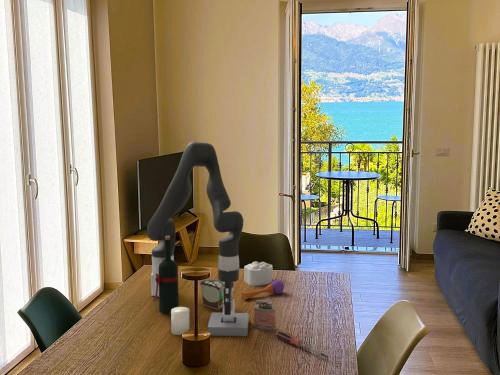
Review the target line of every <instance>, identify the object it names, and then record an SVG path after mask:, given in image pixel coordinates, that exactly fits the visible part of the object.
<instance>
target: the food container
mask: <svg viewBox="0 0 500 375" xmlns="http://www.w3.org/2000/svg"><path fill="white" fill-rule="evenodd" d="M223 284H225V282H222V281H219V279H214V278H211V279H210V278H207V279H202V280H201V279H200V282H199V285H200V288H201V290H200V291H201V304H203V305H202V306H205V307H207V308H209V309H210V308H211V309H214V310H216V311H220V310H221V309H222V310H223V300H224V298H223Z"/></svg>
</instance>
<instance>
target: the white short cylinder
mask: <svg viewBox="0 0 500 375" xmlns="http://www.w3.org/2000/svg"><path fill="white" fill-rule="evenodd" d="M170 315H171V316H170V318H171V319H170V320H171V322H170V323H171V325H170V326H171V327H170V328H171V334H172V335H176V336H182V335H181V334H182V333H184V332H186V331H188V330H190V328H191V326H190V308H189V307H186V306H179V307H176V308H173V309H172V310H171V314H170ZM190 331H191V330H190Z"/></svg>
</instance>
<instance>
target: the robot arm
mask: <svg viewBox="0 0 500 375" xmlns="http://www.w3.org/2000/svg"><path fill="white" fill-rule="evenodd" d="M194 167H200V168H201V167H205V169H206V170H207V172H208V180H207V183H206V195H207V198H208V200H209V203H210V205H211V210H212V218H213V219H212V220H213V221H212V222H213V226H214V229H215V230H216V231H217V232H218V233H222V234H223V233H228V234H227V236H225V237H223V238H220V239H219V241H218V258H217V260H218V261H217V265H218V266H217V280H219V281H222V282H224V284H223V300H224V302H223V304H224V314H225V315H230V314H231V299H232V300H233V297H234V293H235V283H236V282H238V281H239V279H240V258H239V243H240V238H241V235H242V233H243V232H242V231H243V229H244V218H243V215H242V213H240V212H239V211H236V210H235V211H226V210H228V209H229V208H230V207H231V204H232V203H231V199H230V197H229V194H228V192H227V189H226V187H225V184H224V181H223V178H222V174H221V168H220V165H219V160H218V156H217V152H216V149H215V147H214V146H213V145H212V144H211V143H210V142H209V143H208V142H199V141H191V142H189V143H188V144H187V145H186V146H185V148H184V150H183V153H182V156H181V159H180V161H179V165H178V167H177V170H176V171H175V174H174V176H173V178H172V180H171V182H170V184H169V185H168V187H167V189H166V191H165V193H164V196H163V199H162V200H161V202H160V204H159V206H158V208H156V211H155V213H153V215H152V217H151V218H150V220H149V221H148V223H147V227H146V235H147V237H148V239H149V240H151V241H153V242H157V241H159V243H158V244H157V245H155V246H154V247H153V248H152V250H151V274H150V284H151V287H150V288H151V292H150V293H151V295H150V296H151V297H155V295H156V284H157V283H156V281H155V277H156V273H157V274H158V275H159V264H160V263H161V262H162V261H164V260H165V236H170V239H171V260H173V261H175V259H174V257H175V256H174V255H175V253H174V252H175V249H176V226H175V222H174V220H173V219H172V217H173V216H175V215H176V214H178V212H179V211H181V210H182V209H183V208H184V207H185V205H186V204H187V202H188V200H189V199H190V197H191V195H192V192H193V191H192V189H193V187H192V182H191V179H190V174H191V172H192V170H193V168H194ZM224 211H225V212H224ZM157 298H159V284H158V293H157ZM226 299H229V301H226Z"/></svg>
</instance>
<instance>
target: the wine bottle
mask: <svg viewBox="0 0 500 375" xmlns="http://www.w3.org/2000/svg"><path fill="white" fill-rule="evenodd" d="M155 281H156V283H157V284H156V295H155V296H154V297H153V301H152V302H154V303H155V302H156V301H157V298H158V311H159V314H160V313H161V314H164V315H171V310H172V309H173V308H176V307H180V305H179V304H180V302H179V300H180V299H179V298H180V297H179V266H178V264H177V262H176V261H175V260H174V261H173V260H171V239H170V236H165V260H164V261H162V262H161V263H160V264H159V275H158V274H157V273H156V277H155ZM158 284H159V297H157V293H158Z"/></svg>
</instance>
